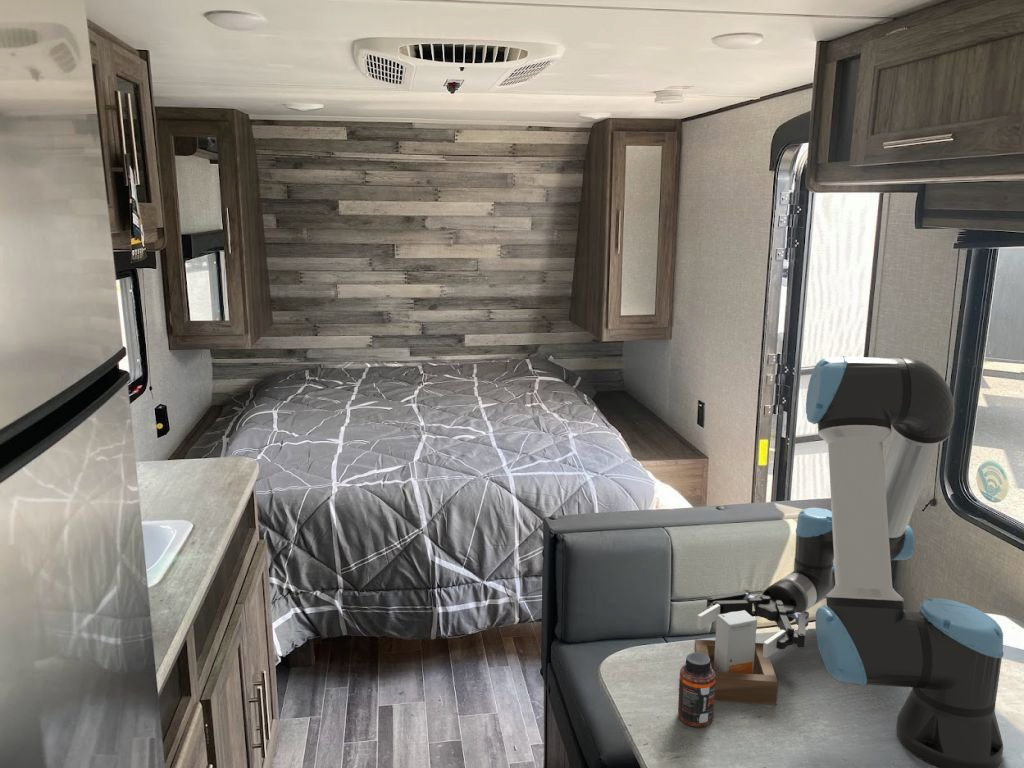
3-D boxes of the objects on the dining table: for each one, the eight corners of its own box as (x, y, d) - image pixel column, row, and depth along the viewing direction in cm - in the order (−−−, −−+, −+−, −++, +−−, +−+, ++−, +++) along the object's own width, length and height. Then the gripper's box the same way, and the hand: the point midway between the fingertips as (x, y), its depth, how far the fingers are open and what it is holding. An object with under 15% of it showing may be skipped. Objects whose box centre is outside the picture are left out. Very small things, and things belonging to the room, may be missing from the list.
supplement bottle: (714, 731, 131) (717, 669, 129) (677, 726, 133) (680, 665, 130) (712, 709, 137) (715, 650, 135) (677, 705, 138) (680, 647, 136)
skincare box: (725, 685, 143) (728, 625, 140) (712, 673, 147) (715, 614, 144) (754, 679, 144) (757, 619, 142) (741, 667, 148) (744, 609, 146)
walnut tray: (776, 704, 138) (777, 681, 138) (701, 699, 140) (702, 676, 139) (762, 664, 151) (764, 643, 150) (694, 660, 153) (694, 639, 152)
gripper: (849, 638, 149) (793, 682, 135) (732, 594, 167) (673, 629, 152) (852, 602, 147) (796, 642, 133) (734, 561, 165) (674, 593, 151)
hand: (730, 635), depth 143 cm, fingers open, 13 cm apart
